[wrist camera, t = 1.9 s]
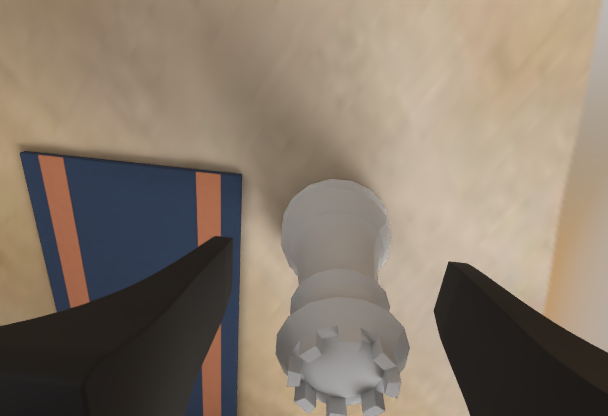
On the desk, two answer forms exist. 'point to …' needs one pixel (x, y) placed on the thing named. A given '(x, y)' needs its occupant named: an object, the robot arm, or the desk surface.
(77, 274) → the cloth
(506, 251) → the desk surface
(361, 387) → the rook chess piece
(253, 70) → the desk surface
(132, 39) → the desk surface
